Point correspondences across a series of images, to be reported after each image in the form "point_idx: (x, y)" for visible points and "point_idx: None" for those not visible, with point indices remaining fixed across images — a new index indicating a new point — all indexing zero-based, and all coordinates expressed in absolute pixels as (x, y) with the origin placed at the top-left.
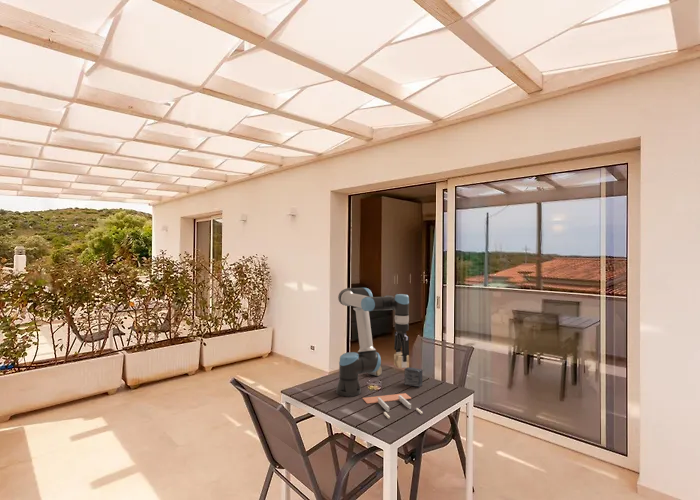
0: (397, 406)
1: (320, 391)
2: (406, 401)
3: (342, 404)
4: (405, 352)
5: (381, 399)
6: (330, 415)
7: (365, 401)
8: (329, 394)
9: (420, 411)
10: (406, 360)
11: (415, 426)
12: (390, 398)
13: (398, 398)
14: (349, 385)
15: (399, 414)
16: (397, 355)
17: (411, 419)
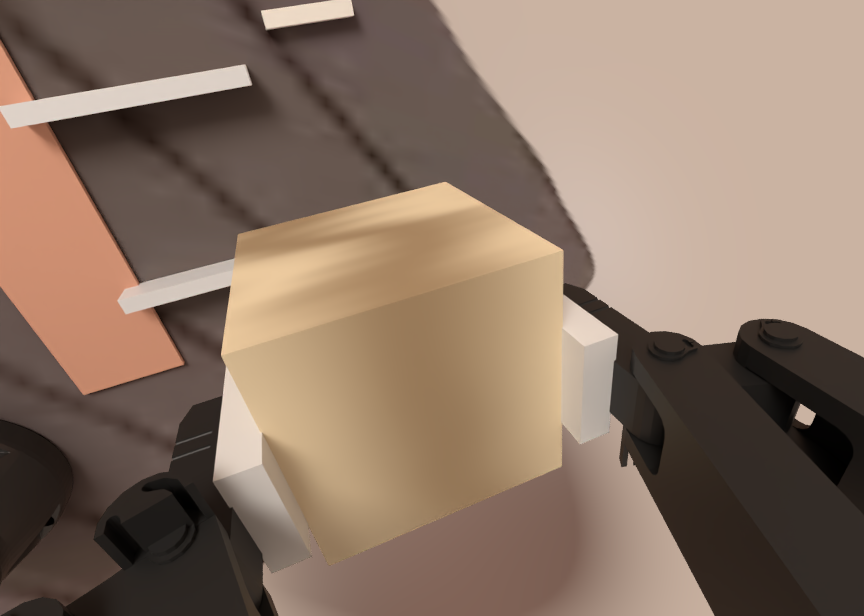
0: (205, 168)
1: (11, 606)
2: (180, 90)
3: None
4: (826, 444)
5: (165, 290)
6: None
7: (150, 374)
8: (55, 558)
9: (333, 12)
10: (588, 294)
11: (504, 123)
12: (37, 198)
13: None
14: (20, 527)
15: (346, 182)
16: (463, 495)
17: (420, 120)
